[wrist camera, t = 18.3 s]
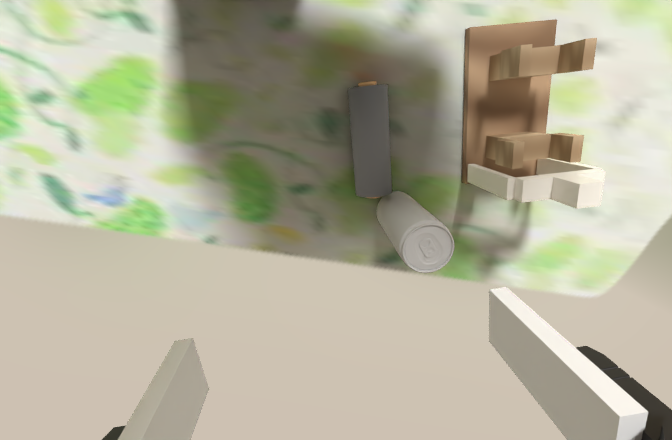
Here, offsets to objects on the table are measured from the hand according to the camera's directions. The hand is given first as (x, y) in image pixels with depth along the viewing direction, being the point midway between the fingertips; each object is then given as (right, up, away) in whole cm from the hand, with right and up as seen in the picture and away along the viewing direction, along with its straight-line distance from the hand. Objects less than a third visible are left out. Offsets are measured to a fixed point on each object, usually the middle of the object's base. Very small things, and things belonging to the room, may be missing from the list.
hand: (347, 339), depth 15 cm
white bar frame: (+19, +11, +24) cm, 32 cm away
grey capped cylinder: (+4, +14, +22) cm, 27 cm away
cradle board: (+18, +18, +23) cm, 34 cm away
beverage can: (+6, +7, +26) cm, 27 cm away
